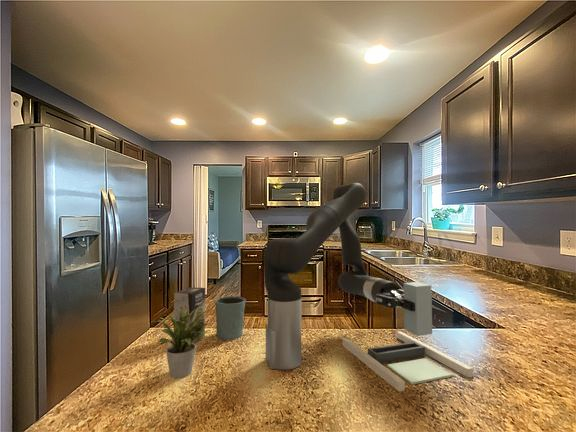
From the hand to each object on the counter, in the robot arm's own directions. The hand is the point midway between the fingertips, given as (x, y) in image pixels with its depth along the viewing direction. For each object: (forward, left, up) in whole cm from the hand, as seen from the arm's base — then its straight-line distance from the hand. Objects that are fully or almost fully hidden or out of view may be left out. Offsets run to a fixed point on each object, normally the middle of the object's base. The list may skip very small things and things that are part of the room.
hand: (422, 306), depth 71 cm
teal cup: (-43, +41, -17) cm, 62 cm away
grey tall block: (0, +2, -7) cm, 7 cm away
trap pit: (0, +10, -17) cm, 20 cm away
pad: (0, +2, -17) cm, 17 cm away
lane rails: (0, +9, -17) cm, 19 cm away
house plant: (-58, +18, -17) cm, 63 cm away
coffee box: (-56, +41, -17) cm, 71 cm away
